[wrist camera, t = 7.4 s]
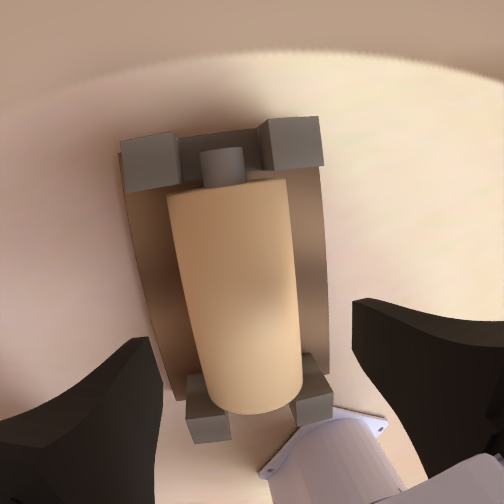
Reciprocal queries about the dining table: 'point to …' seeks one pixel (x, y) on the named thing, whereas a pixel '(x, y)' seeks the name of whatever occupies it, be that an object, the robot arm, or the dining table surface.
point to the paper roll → (239, 283)
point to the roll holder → (167, 269)
